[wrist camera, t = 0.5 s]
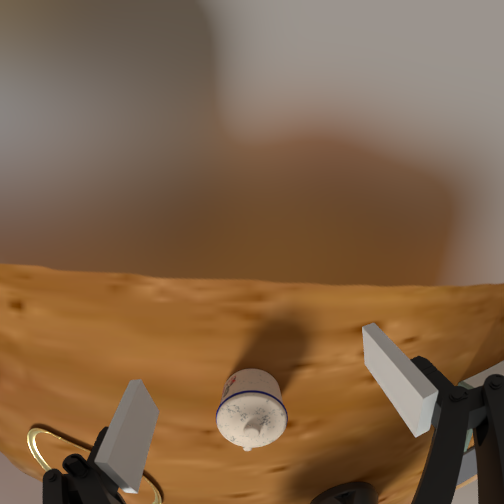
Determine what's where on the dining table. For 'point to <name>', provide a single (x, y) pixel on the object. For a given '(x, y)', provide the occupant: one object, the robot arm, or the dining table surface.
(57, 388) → the dining table surface
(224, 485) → the dining table surface
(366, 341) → the robot arm
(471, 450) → the slate mat
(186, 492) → the dining table surface
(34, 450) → the brass wire loop
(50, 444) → the dining table surface
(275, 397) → the teacup with lid
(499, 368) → the grey-green angled panels
